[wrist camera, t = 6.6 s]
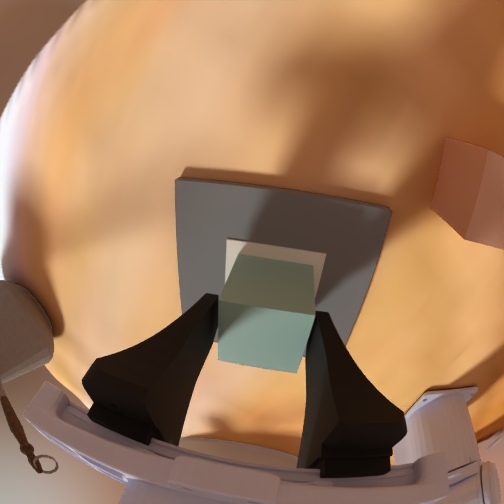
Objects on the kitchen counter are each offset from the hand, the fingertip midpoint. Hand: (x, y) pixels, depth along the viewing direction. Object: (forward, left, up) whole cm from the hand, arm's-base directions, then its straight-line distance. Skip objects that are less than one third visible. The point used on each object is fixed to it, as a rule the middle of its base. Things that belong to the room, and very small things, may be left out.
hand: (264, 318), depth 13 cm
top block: (+8, -10, -3) cm, 13 cm away
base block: (0, 0, -3) cm, 3 cm away
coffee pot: (-10, +22, -4) cm, 24 cm away
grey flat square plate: (0, 0, -3) cm, 3 cm away
